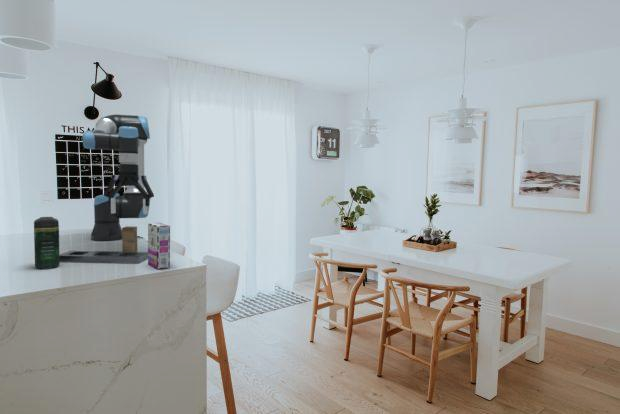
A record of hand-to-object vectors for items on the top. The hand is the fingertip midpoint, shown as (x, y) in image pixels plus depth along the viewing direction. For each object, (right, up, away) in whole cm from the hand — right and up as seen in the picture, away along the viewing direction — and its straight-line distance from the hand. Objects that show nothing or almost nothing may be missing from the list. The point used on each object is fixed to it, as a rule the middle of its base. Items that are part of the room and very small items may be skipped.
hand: (129, 213), depth 174 cm
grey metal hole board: (-6, -19, -9) cm, 22 cm away
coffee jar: (-21, -20, -21) cm, 36 cm away
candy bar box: (+19, -20, -17) cm, 32 cm away
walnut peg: (-1, -18, +2) cm, 18 cm away
